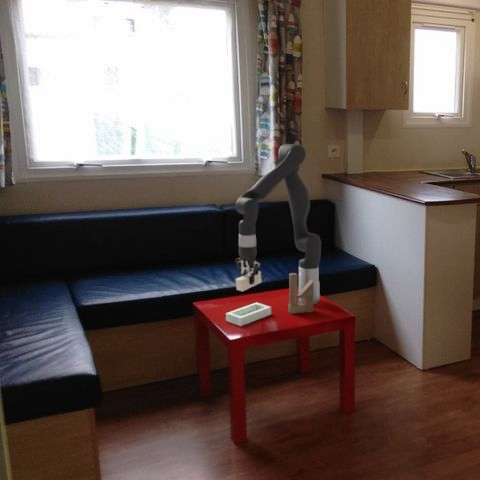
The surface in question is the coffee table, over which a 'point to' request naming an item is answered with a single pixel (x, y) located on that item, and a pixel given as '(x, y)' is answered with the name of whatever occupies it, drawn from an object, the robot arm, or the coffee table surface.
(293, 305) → the wooden bracket
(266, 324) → the coffee table surface
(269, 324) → the coffee table surface
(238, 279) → the cream rectangular block
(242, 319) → the white rectangular tray
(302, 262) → the robot arm
